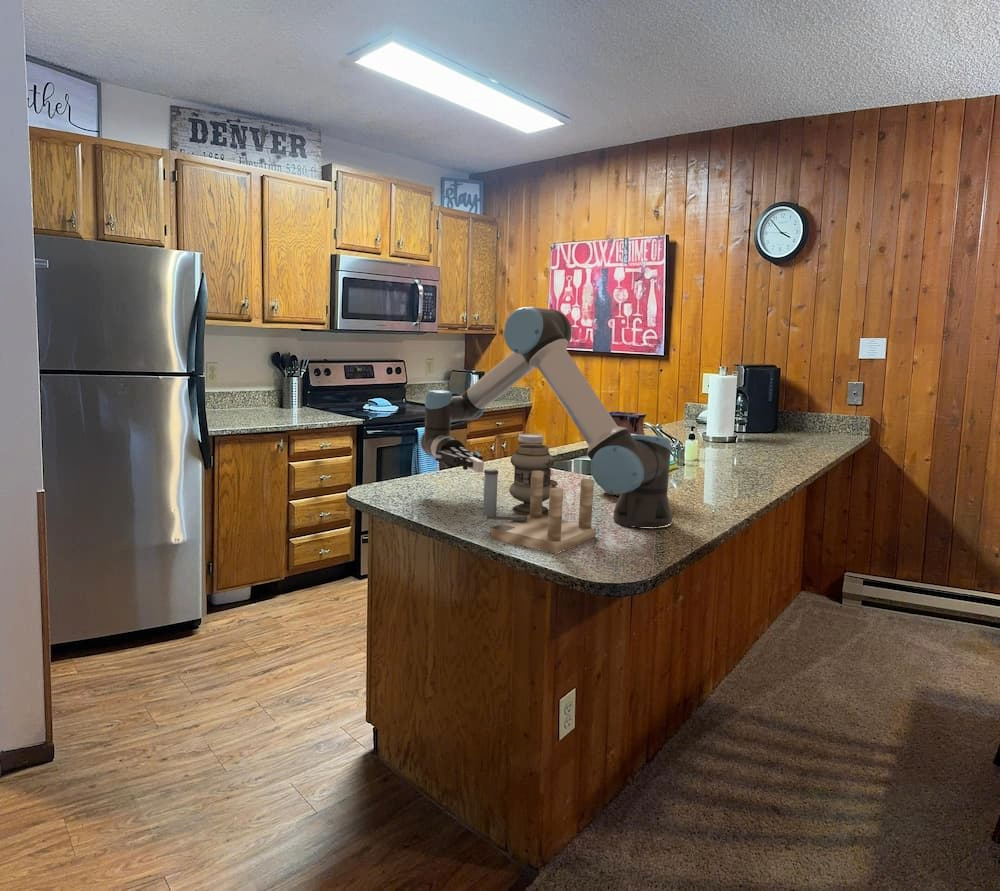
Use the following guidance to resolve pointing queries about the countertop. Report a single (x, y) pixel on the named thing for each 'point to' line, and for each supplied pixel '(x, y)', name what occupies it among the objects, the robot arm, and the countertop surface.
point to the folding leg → (494, 498)
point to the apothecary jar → (525, 463)
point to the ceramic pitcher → (628, 426)
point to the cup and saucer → (552, 480)
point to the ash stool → (550, 520)
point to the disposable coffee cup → (530, 439)
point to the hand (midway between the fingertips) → (480, 467)
